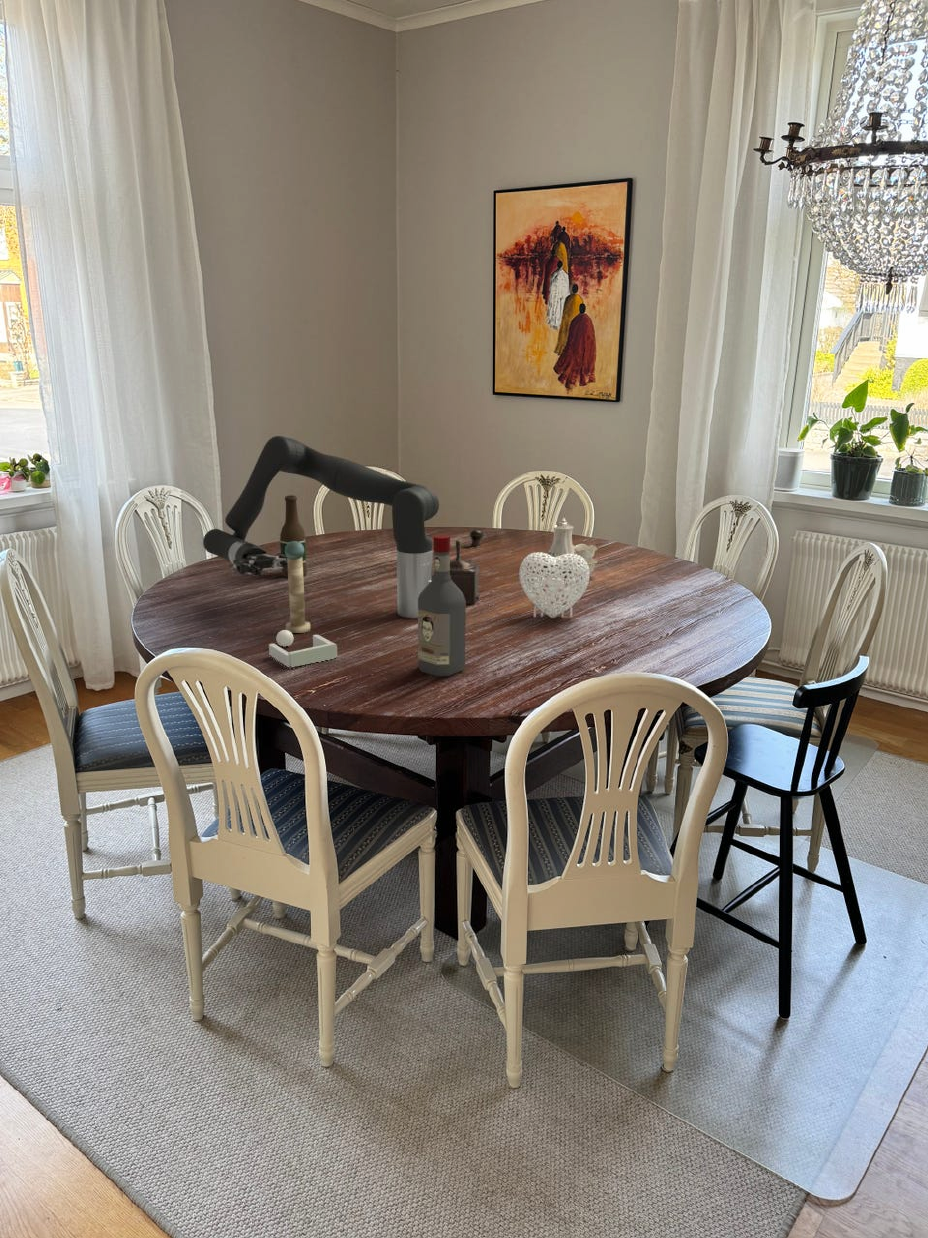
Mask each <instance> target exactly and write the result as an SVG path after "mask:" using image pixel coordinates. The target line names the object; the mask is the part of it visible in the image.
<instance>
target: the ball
mask: <svg viewBox="0 0 928 1238" xmlns="http://www.w3.org/2000/svg"><path fill="white" fill-rule="evenodd" d="M275 638H276V643H277V645H279V647H282V646H283V648H287V647H286V646H288V647H290V646H291V645H292V644H293V642H294V634H292V633H291V632H290V631H288V630H286V629H283V630H280V631H279V632H277V634H276V637H275Z"/></svg>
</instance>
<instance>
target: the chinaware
mask: <svg viewBox="0 0 928 1238" xmlns="http://www.w3.org/2000/svg"><path fill="white" fill-rule="evenodd" d="M552 529H553V539H552V540H553V541H552V544H551V547H550V549H549V550H548V552H547V553H546V554H548V555H550V556H552V557H558V556H561V555H564V554H577V555H579V556H581V557H582V558H583V559H584V560H585V561H586V562H587V564H588V566H589V571H590V574H592V573H593V571H594V569H595V566H596V564H597V563H598V562H599V561H598V560H597V559H595V560H594V559H593V557H594V555H595V553H596V551H598V548H597V546H596V545H593V544H591V545H588V544H585V543H579V544H576V545H574V544H573V536H572V535H573V530H574V526H573V525H571V524H569V522H567V520H566V518H565V517H562V519H561V520H560V521H559V522H558V523H557V524H554V525H552ZM568 557H569V556H568ZM572 557H573V556H572ZM570 559H571V558H568V560H570ZM543 560H545V559H543ZM578 561H579V560H578ZM546 562H547V563H548V561H546ZM563 562H566V561H563ZM575 562H576V561H575ZM556 563H557V562H556ZM569 563H571V561H569ZM573 564H575V563H573ZM577 564H578V565H579V563H577ZM581 564H582V563H581ZM565 565H567V564H565ZM555 566H556V567H557V566H558V565H555ZM570 566H572V565H570ZM574 566H576V565H574ZM551 567H553V565H551ZM573 568H574V567H573ZM559 569H561V568H559ZM564 569H566V568H564ZM578 569H579V568H578ZM569 570H570V569H569ZM551 571H552V570H551ZM576 571H577V570H576ZM581 571H582V570H581ZM563 573H566V571H564V572H563ZM568 573H571V571H569V572H568ZM574 575H575V574H574ZM576 576H577V574H576ZM579 576H580V575H579ZM584 578H585V577H584ZM581 579H582V577H581Z"/></svg>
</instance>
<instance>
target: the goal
mask: <svg viewBox="0 0 928 1238" xmlns="http://www.w3.org/2000/svg"><path fill="white" fill-rule="evenodd" d="M268 654H269V655H271V656H272V657H274V658H275V659H277V660H278V661H280V662H281V663H283V664H284V665H286V666H287V667H289V666H291V667H295V666H300V665H305V664H310V663H315V662H319V663H322V662H321V661H324V662H326V661H325V660H328V661H331V660H330V659H333V660H335V659H334V658H336V657H337V658H338V645H337V644H336V643H334V642H332V641H330V640H328V639H326V638H325V637H323V636H321V635H319V634H313V635H312V647H307V648H303V649H298V650H293V651H287V650H285V649H284V648H282V647H281V646H280V645H279V646H278V644H275V643H270V644H268ZM337 658H336V659H337ZM315 664H316V663H315Z"/></svg>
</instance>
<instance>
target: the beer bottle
mask: <svg viewBox="0 0 928 1238" xmlns="http://www.w3.org/2000/svg"><path fill="white" fill-rule="evenodd" d="M284 501H285V521H284V524H283V526H282V527H281V531H280V535H279V536H280V537H279V542H280V544H279V545H280V546H279V547H280V553H281V554H284V555H286V554H285V547H286V545H287V544H288V543H289V542H291V541H298V542H300V543H301V544H302V545H303V547H304V554H303V556H302V559H303V578H304V577H307V549H306V547H307V546H306V534H305V533H306V532H305V531H304V528H303V526H302V524H301V523H300V520H299V516H298V505H297V501H298V497H297V496H296V495H293V494H291V495H285V497H284ZM280 565H281V564H280ZM281 566H282V565H281ZM281 575H282V577H283V578H286V577H287V578H286V579H288V571H286V570H284V569H281Z"/></svg>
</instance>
